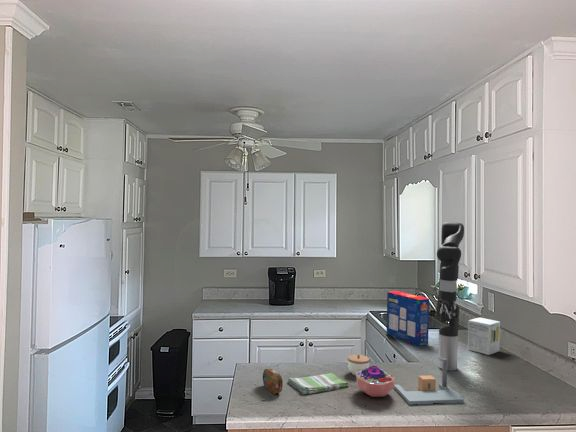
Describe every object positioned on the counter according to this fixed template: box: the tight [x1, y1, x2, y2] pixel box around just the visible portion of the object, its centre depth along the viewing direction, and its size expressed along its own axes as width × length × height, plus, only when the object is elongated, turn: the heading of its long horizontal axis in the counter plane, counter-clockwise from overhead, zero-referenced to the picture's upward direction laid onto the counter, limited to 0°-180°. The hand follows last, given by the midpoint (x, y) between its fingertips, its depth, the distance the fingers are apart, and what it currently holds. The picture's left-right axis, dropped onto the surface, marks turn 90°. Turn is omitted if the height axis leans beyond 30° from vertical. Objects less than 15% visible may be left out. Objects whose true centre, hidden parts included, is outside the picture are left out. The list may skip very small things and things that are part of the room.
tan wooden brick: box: [417, 374, 437, 391], centre depth 204 cm, size 5×6×6 cm
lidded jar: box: [347, 354, 370, 376], centre depth 223 cm, size 11×11×9 cm
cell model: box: [355, 365, 396, 398], centre depth 199 cm, size 17×20×11 cm
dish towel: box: [287, 372, 349, 396], centre depth 208 cm, size 17×23×4 cm
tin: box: [262, 368, 284, 395], centre depth 201 cm, size 15×3×8 cm, turn 29°
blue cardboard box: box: [386, 290, 430, 347], centre depth 286 cm, size 28×8×28 cm, turn 30°
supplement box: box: [467, 317, 501, 356], centre depth 266 cm, size 13×13×18 cm
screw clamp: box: [393, 357, 465, 406], centre depth 200 cm, size 20×24×14 cm
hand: (447, 324), depth 211 cm, fingers open, 8 cm apart
